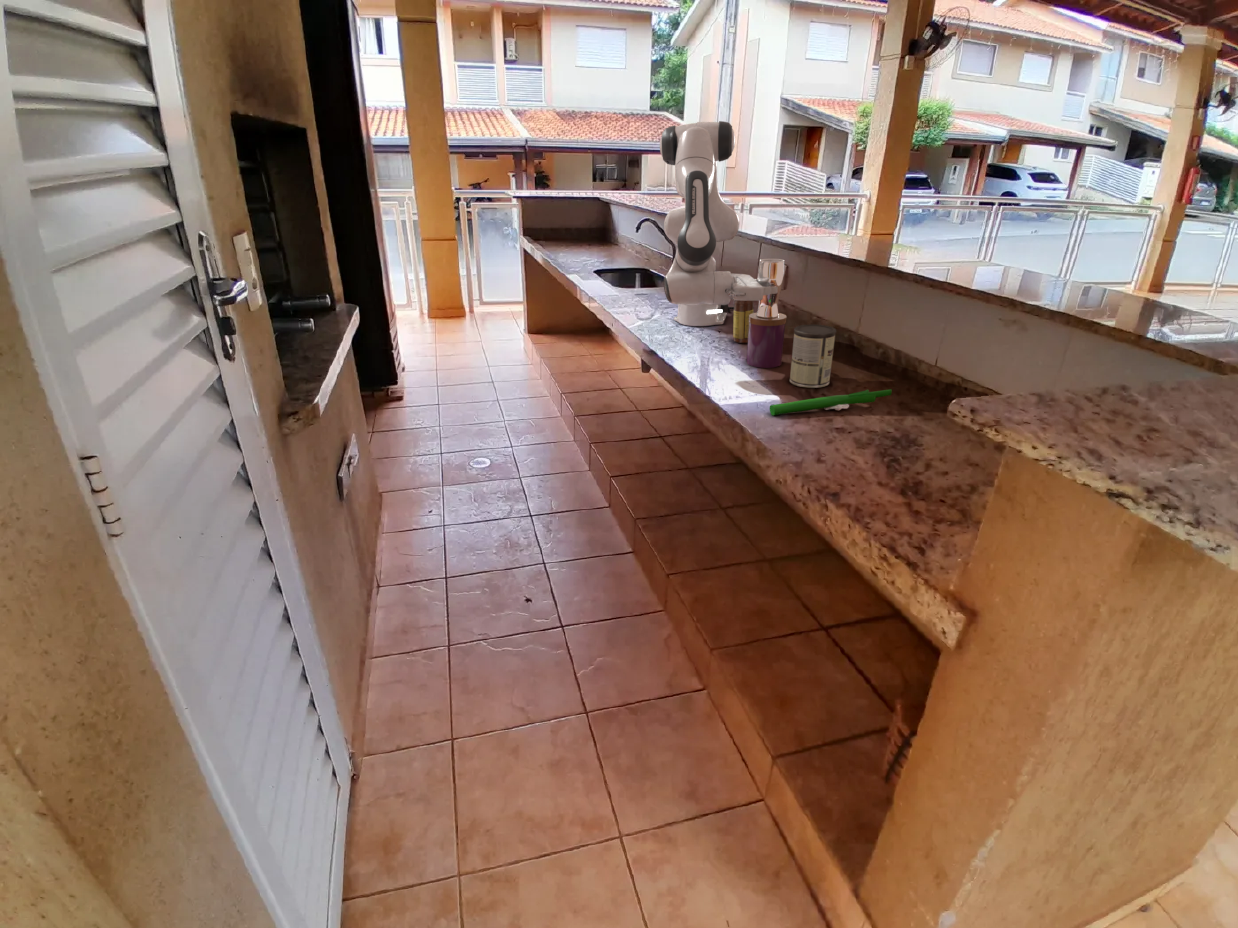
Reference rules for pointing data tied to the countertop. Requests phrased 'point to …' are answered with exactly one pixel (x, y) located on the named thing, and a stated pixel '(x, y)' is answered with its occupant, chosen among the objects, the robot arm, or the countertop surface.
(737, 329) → the sauce bottle
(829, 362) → the coffee can
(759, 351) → the jar
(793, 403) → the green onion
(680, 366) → the countertop surface
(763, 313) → the metal cocktail shaker
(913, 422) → the countertop surface
